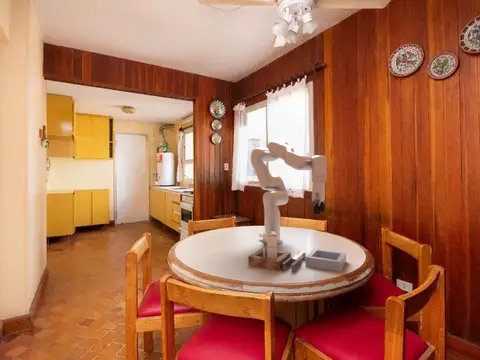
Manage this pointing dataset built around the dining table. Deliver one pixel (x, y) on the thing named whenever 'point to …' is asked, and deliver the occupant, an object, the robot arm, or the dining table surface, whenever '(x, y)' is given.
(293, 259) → the key
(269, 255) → the syrup box
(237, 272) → the dining table surface
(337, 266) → the grey square tray
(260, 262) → the socket block
